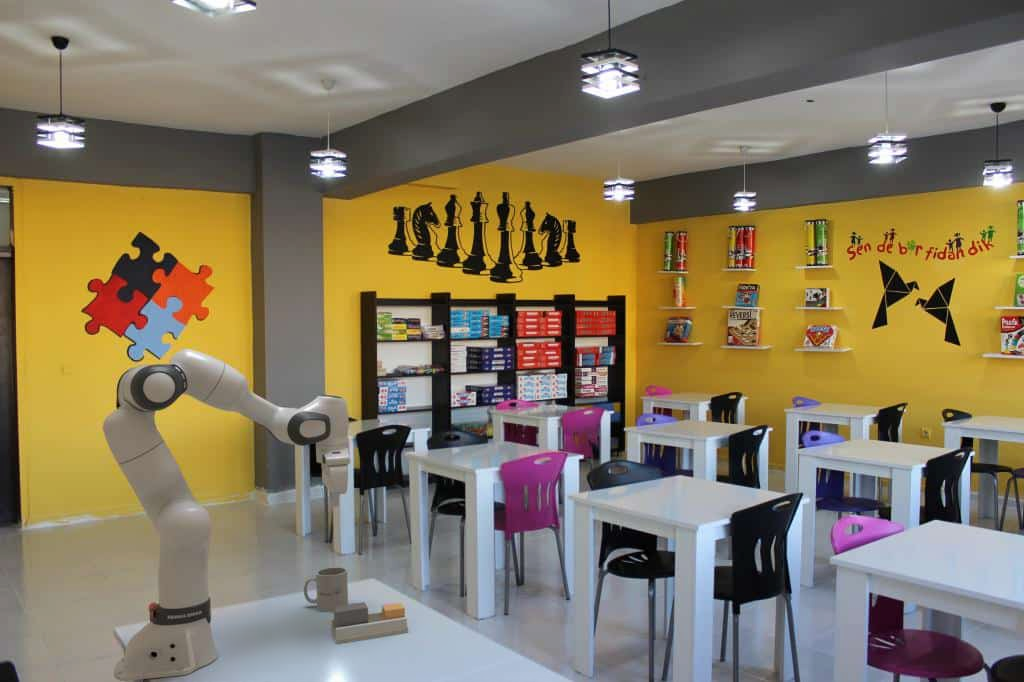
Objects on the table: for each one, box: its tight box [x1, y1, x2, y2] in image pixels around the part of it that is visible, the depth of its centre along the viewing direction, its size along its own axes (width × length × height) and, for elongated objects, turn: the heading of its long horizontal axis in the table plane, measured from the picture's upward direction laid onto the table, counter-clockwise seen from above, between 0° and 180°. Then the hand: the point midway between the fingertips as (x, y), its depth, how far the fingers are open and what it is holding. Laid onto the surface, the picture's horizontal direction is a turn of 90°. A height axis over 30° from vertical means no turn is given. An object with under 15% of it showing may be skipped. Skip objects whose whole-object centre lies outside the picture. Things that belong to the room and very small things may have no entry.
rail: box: [330, 602, 409, 645], centre depth 210 cm, size 18×10×6 cm, turn 111°
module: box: [332, 601, 369, 633], centre depth 208 cm, size 8×5×6 cm, turn 111°
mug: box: [303, 566, 349, 613], centre depth 232 cm, size 12×9×10 cm
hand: (334, 505), depth 219 cm, fingers closed
